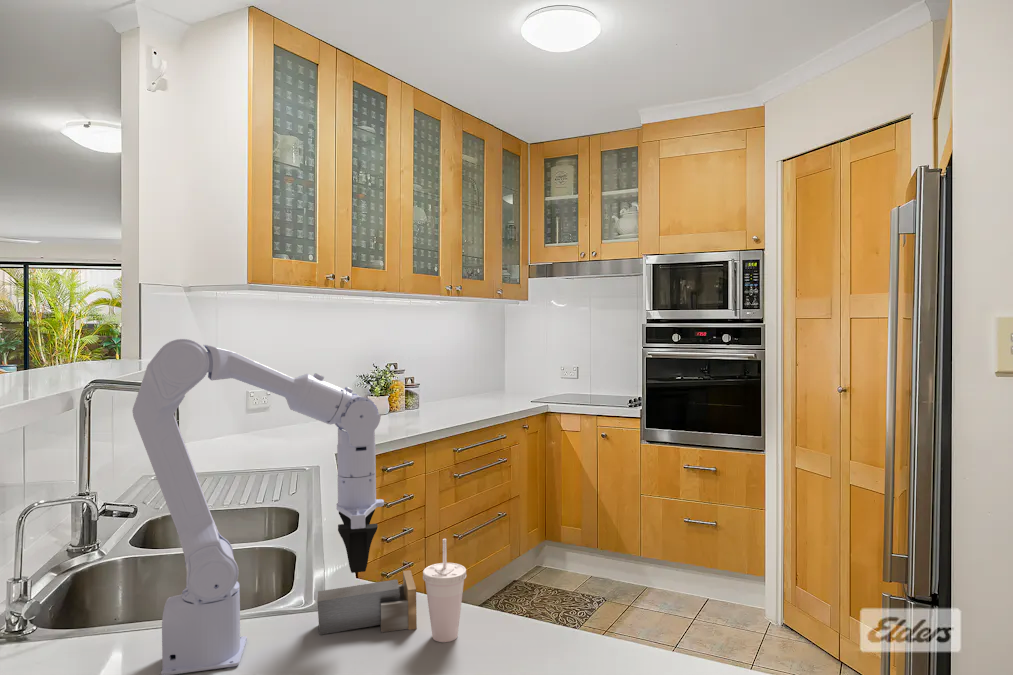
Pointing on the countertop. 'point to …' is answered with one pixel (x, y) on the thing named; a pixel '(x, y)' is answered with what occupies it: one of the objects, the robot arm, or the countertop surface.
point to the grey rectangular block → (354, 606)
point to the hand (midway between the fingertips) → (357, 562)
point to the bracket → (401, 608)
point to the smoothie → (444, 597)
